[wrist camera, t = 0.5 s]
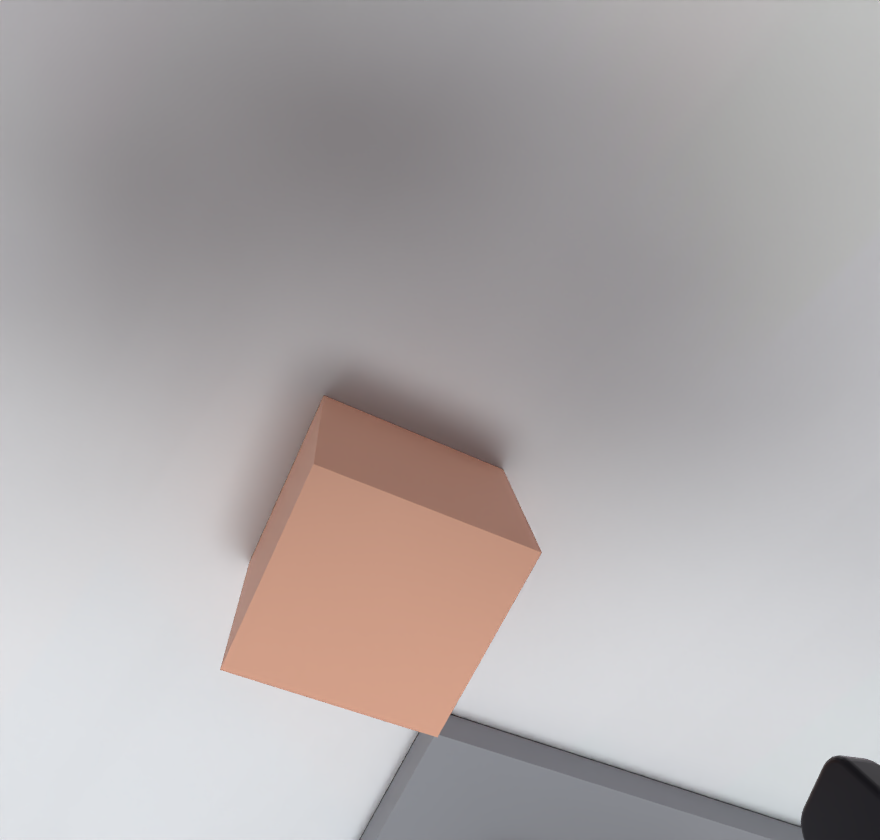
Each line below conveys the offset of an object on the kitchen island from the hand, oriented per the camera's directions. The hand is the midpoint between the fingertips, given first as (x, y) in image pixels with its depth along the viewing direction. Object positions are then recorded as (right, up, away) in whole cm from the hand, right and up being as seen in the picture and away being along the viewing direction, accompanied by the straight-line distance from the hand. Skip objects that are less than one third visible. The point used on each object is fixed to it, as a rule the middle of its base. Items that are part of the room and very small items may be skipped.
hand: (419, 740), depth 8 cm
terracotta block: (-2, +1, +12) cm, 12 cm away
